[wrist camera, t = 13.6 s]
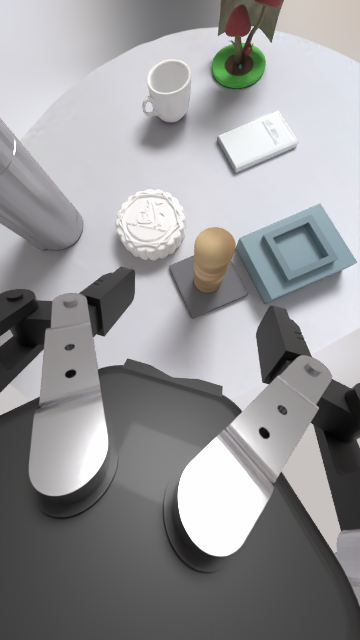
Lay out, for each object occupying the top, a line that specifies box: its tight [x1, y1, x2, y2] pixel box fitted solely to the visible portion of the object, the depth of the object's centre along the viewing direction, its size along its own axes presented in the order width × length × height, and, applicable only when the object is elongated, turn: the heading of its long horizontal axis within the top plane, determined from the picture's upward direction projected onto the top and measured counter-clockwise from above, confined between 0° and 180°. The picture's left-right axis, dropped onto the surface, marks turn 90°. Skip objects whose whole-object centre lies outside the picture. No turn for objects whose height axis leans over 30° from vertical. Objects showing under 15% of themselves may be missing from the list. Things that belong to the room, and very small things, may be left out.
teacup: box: [142, 59, 191, 123], centre depth 37 cm, size 10×8×5 cm
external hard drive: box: [217, 111, 298, 173], centre depth 37 cm, size 2×8×12 cm
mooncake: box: [116, 189, 186, 261], centre depth 34 cm, size 12×12×4 cm
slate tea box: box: [236, 204, 357, 303], centre depth 31 cm, size 14×11×4 cm
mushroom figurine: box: [212, 0, 284, 88], centre depth 32 cm, size 12×13×15 cm
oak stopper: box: [194, 227, 235, 294], centre depth 27 cm, size 5×5×11 cm
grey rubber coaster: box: [169, 256, 248, 319], centre depth 33 cm, size 10×10×1 cm
